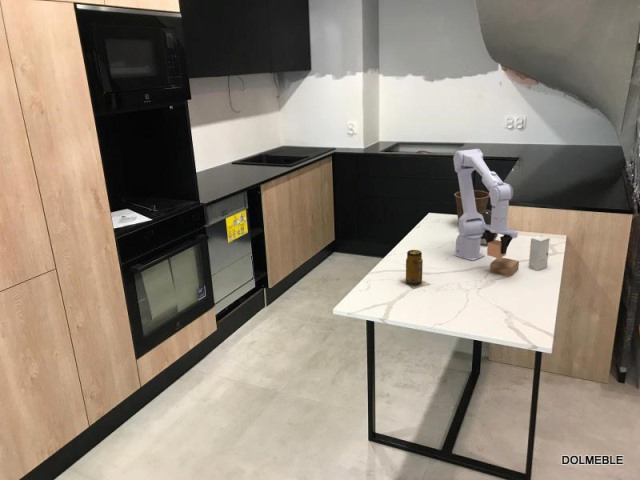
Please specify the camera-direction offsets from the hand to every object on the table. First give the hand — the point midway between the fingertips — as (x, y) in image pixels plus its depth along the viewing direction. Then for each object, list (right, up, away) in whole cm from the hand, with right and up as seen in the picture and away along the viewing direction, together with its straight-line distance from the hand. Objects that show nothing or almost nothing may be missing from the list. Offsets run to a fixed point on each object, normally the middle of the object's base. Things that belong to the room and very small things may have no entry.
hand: (496, 251), depth 191 cm
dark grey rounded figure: (+6, +3, +33) cm, 34 cm away
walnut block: (+4, -8, +3) cm, 9 cm away
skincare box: (+18, -6, +5) cm, 20 cm away
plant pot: (+7, +11, +57) cm, 58 cm away
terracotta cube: (0, -1, 0) cm, 1 cm away
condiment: (-31, -12, -3) cm, 34 cm away
